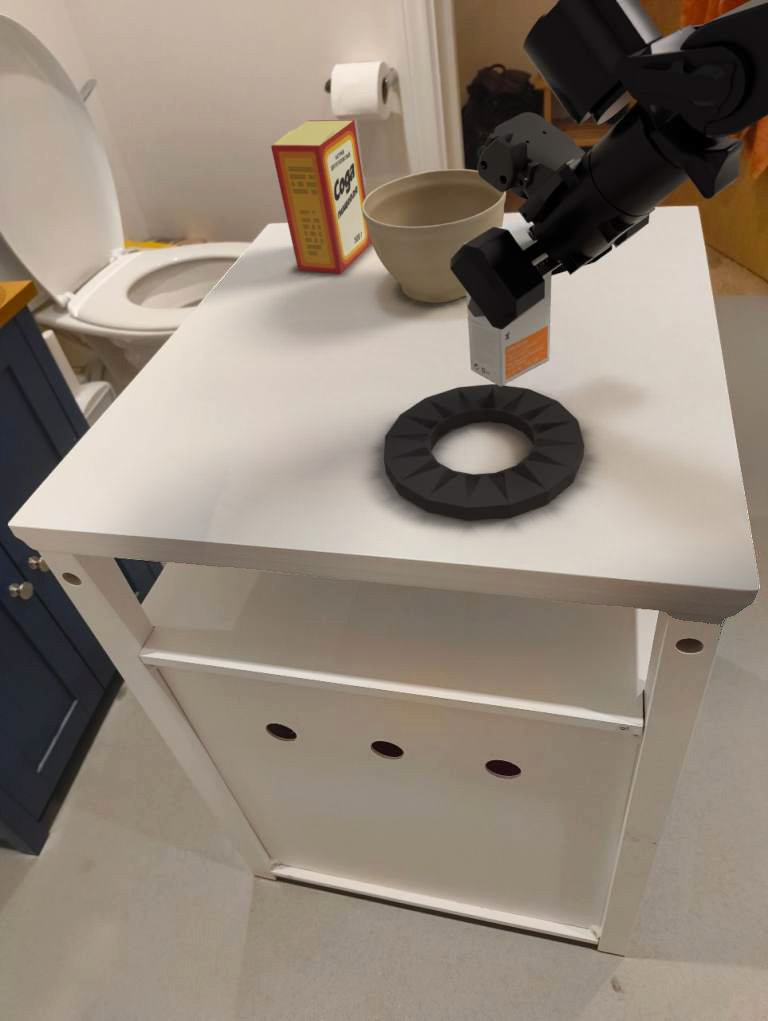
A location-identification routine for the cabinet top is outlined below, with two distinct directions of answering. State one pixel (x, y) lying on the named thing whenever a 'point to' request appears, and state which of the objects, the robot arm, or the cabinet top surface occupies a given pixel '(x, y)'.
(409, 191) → the planter bowl
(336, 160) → the baking soda box
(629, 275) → the cabinet top surface
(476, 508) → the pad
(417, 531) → the cabinet top surface
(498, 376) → the cosmetic box
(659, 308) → the cabinet top surface
